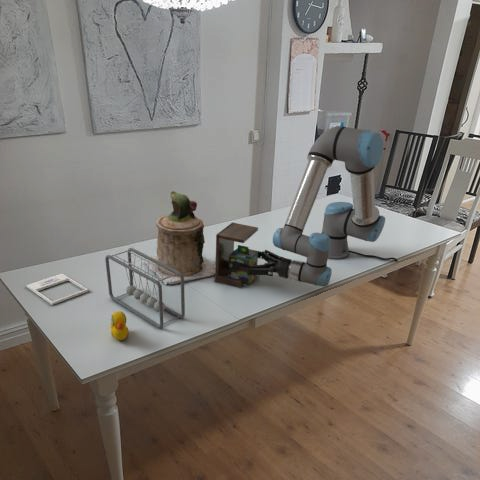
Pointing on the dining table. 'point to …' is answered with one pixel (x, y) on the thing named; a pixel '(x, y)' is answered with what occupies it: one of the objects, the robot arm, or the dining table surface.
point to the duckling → (119, 326)
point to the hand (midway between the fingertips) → (239, 258)
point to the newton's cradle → (140, 294)
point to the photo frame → (51, 282)
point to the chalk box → (242, 256)
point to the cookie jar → (181, 243)
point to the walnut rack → (230, 250)
